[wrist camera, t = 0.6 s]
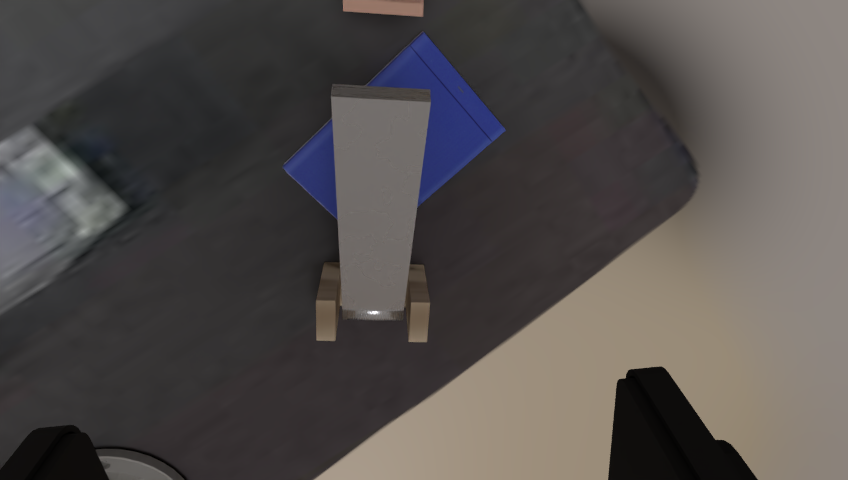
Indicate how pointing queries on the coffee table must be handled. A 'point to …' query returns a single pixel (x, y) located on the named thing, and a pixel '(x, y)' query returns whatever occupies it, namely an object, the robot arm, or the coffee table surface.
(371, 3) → the block
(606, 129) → the coffee table surface
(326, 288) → the pivot bracket
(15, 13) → the coffee table surface
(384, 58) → the coffee table surface
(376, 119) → the grey long flat bar
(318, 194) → the hard drive
